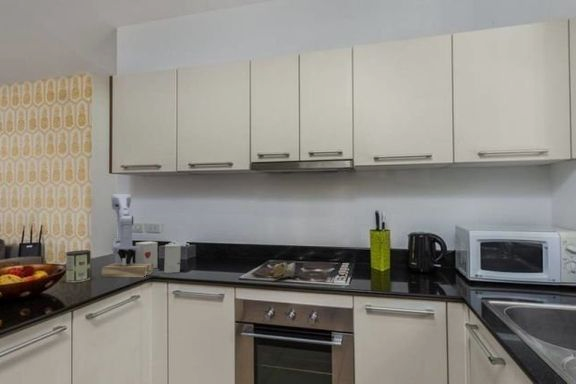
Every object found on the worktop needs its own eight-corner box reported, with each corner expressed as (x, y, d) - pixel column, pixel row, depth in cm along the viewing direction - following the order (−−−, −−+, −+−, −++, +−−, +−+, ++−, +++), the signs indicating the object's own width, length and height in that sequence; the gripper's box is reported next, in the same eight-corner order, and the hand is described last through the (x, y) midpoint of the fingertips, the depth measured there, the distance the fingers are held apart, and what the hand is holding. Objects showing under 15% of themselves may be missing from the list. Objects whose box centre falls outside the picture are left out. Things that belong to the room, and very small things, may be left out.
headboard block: (113, 272, 179) (113, 263, 179) (152, 272, 178) (152, 263, 178) (101, 277, 168) (101, 267, 168) (143, 277, 167) (143, 267, 167)
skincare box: (164, 273, 176) (164, 245, 176) (164, 271, 181) (164, 244, 182) (180, 272, 178) (180, 244, 178) (180, 270, 184) (180, 243, 184)
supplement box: (143, 270, 183) (143, 243, 183) (134, 268, 188) (134, 242, 189) (158, 267, 190) (158, 242, 191) (149, 266, 196) (149, 240, 196)
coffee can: (79, 277, 169) (79, 249, 169) (95, 278, 166) (95, 250, 166) (60, 282, 159) (60, 252, 159) (77, 283, 156) (77, 253, 156)
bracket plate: (126, 271, 175) (126, 256, 176) (130, 271, 175) (130, 256, 175) (122, 273, 171) (122, 258, 171) (125, 273, 171) (125, 258, 171)
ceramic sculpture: (299, 261, 162) (271, 265, 156) (300, 278, 162) (272, 283, 156) (290, 257, 171) (263, 261, 165) (291, 274, 171) (264, 279, 165)
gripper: (108, 239, 170) (108, 265, 169) (135, 239, 169) (135, 265, 169) (116, 237, 177) (116, 262, 176) (142, 237, 176) (142, 262, 176)
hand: (126, 263), depth 173 cm, fingers closed on bracket plate, 2 cm apart
